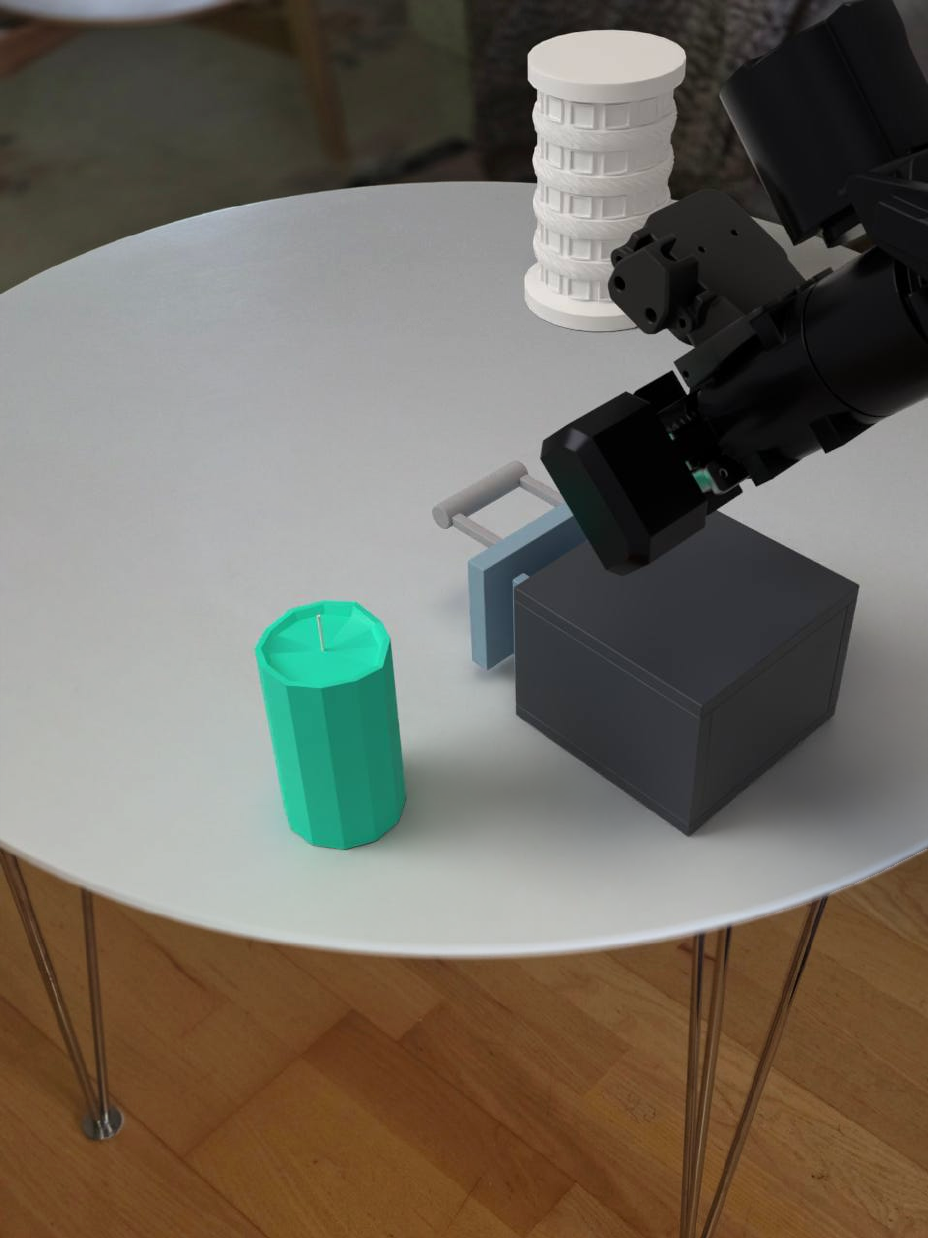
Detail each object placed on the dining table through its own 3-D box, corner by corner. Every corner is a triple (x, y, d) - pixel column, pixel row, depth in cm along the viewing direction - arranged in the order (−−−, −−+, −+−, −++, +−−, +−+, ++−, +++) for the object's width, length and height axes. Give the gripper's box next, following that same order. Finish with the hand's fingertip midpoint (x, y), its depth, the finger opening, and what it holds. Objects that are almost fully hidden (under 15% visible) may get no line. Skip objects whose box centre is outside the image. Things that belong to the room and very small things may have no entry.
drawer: (407, 616, 76) (399, 517, 72) (539, 534, 81) (539, 438, 77) (618, 762, 67) (623, 659, 63) (751, 660, 72) (764, 559, 68)
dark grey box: (515, 714, 71) (513, 586, 65) (662, 611, 77) (671, 485, 71) (688, 837, 64) (702, 706, 59) (835, 714, 70) (860, 584, 65)
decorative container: (515, 266, 110) (511, 34, 98) (657, 255, 110) (671, 22, 98) (535, 337, 101) (534, 91, 89) (689, 324, 101) (709, 78, 90)
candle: (321, 869, 64) (289, 682, 56) (262, 791, 68) (225, 605, 60) (429, 813, 66) (414, 626, 58) (367, 740, 70) (344, 555, 62)
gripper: (899, 85, 55) (672, 258, 68) (579, 236, 46) (389, 402, 59) (1034, 326, 55) (783, 451, 69) (746, 523, 46) (520, 623, 60)
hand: (628, 474), depth 64 cm, fingers closed
